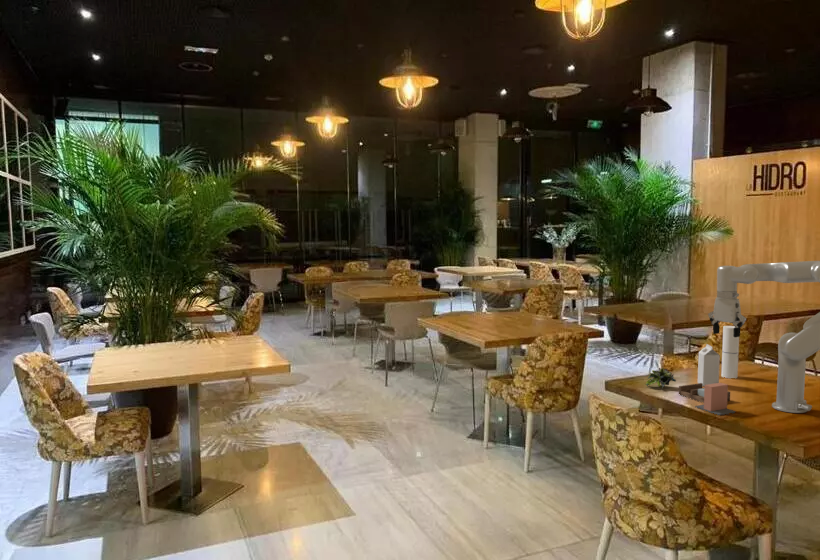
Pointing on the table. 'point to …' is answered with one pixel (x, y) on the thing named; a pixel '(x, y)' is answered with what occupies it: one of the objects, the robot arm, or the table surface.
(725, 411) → the slate mat
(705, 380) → the milk carton
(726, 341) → the cylindrical container
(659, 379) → the passion flower
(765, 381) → the table surface
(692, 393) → the rack
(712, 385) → the pink rectangular block
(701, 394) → the offcut upper
